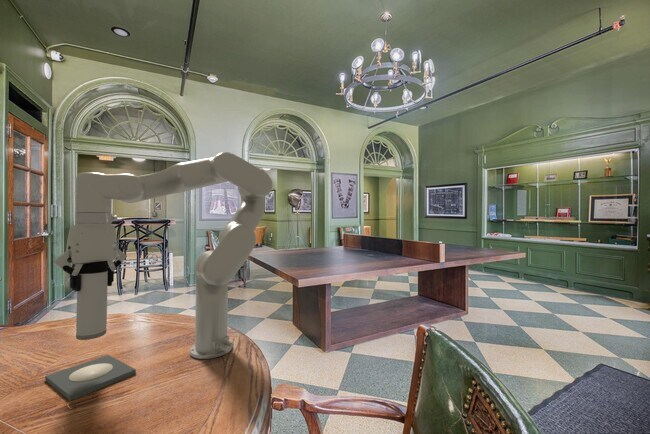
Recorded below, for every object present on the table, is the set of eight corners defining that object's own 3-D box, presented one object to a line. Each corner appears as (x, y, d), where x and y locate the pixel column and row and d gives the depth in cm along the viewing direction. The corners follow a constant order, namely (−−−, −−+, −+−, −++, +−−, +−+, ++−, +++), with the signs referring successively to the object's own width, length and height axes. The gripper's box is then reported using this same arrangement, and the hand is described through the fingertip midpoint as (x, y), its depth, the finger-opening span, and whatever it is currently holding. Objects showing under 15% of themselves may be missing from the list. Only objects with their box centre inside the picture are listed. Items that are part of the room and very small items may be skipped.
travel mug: (112, 330, 80) (114, 257, 81) (94, 340, 74) (96, 260, 74) (89, 330, 80) (91, 257, 80) (69, 340, 73) (71, 260, 74)
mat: (135, 373, 78) (135, 368, 78) (69, 401, 67) (69, 394, 67) (108, 358, 87) (108, 354, 87) (45, 380, 75) (45, 375, 75)
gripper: (123, 220, 87) (122, 280, 86) (45, 219, 72) (43, 292, 72) (136, 220, 83) (135, 283, 82) (56, 219, 68) (54, 297, 68)
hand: (92, 287), depth 77 cm, fingers closed on travel mug, 6 cm apart
